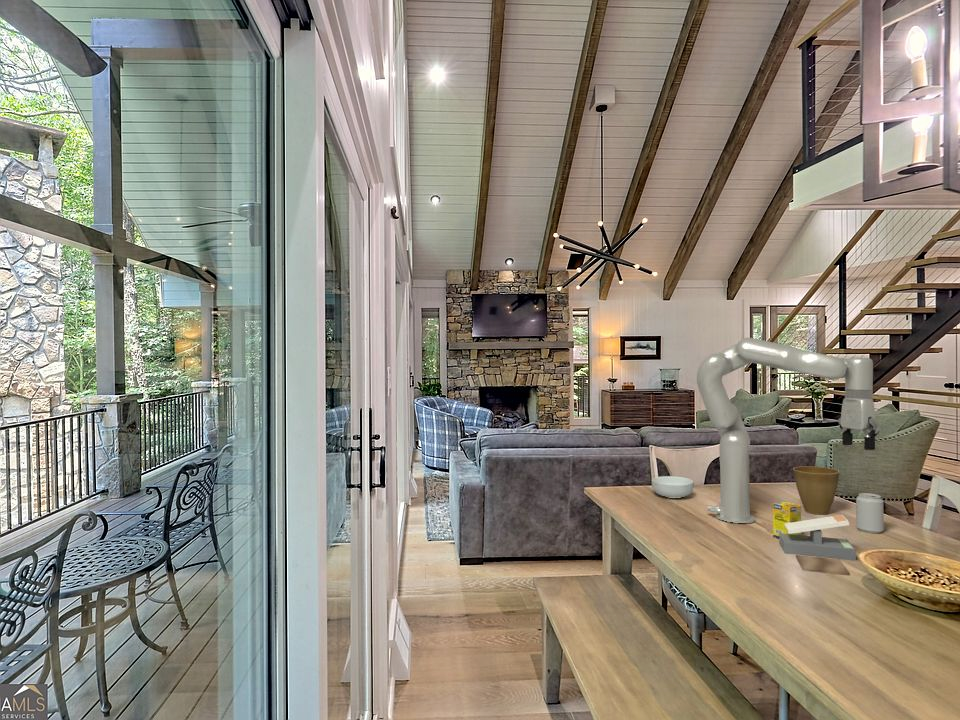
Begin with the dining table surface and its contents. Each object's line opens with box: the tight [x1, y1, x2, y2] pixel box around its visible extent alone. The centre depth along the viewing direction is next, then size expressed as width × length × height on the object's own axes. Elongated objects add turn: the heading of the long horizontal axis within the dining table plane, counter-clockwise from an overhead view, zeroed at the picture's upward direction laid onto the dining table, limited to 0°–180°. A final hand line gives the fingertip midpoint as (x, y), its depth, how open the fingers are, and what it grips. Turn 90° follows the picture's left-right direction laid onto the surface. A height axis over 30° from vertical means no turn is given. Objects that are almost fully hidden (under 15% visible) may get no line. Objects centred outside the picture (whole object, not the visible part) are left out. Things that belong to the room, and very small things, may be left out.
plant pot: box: [792, 465, 840, 516], centre depth 211 cm, size 15×15×16 cm
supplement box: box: [772, 501, 802, 539], centre depth 180 cm, size 6×6×11 cm
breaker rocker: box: [784, 514, 850, 534], centre depth 168 cm, size 16×7×2 cm, turn 70°
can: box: [855, 492, 885, 534], centre depth 188 cm, size 8×8×12 cm
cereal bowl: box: [651, 475, 695, 498], centre depth 236 cm, size 17×17×7 cm
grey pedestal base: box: [778, 529, 857, 561], centre depth 168 cm, size 18×10×7 cm, turn 70°
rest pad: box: [795, 554, 851, 576], centre depth 156 cm, size 11×11×1 cm
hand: (858, 447), depth 185 cm, fingers open, 9 cm apart
